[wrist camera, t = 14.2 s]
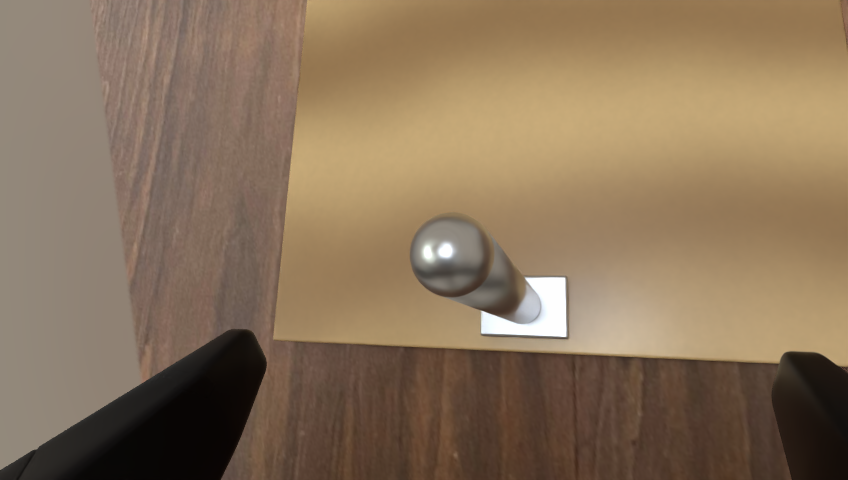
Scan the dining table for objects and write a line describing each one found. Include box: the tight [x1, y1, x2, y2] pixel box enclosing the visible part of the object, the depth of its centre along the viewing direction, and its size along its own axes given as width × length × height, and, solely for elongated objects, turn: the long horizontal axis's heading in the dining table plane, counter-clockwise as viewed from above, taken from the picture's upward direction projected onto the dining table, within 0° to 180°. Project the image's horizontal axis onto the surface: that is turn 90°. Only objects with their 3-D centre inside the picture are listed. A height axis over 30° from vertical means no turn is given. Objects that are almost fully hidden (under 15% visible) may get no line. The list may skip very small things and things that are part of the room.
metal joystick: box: [410, 212, 569, 339], centre depth 11 cm, size 3×2×11 cm
